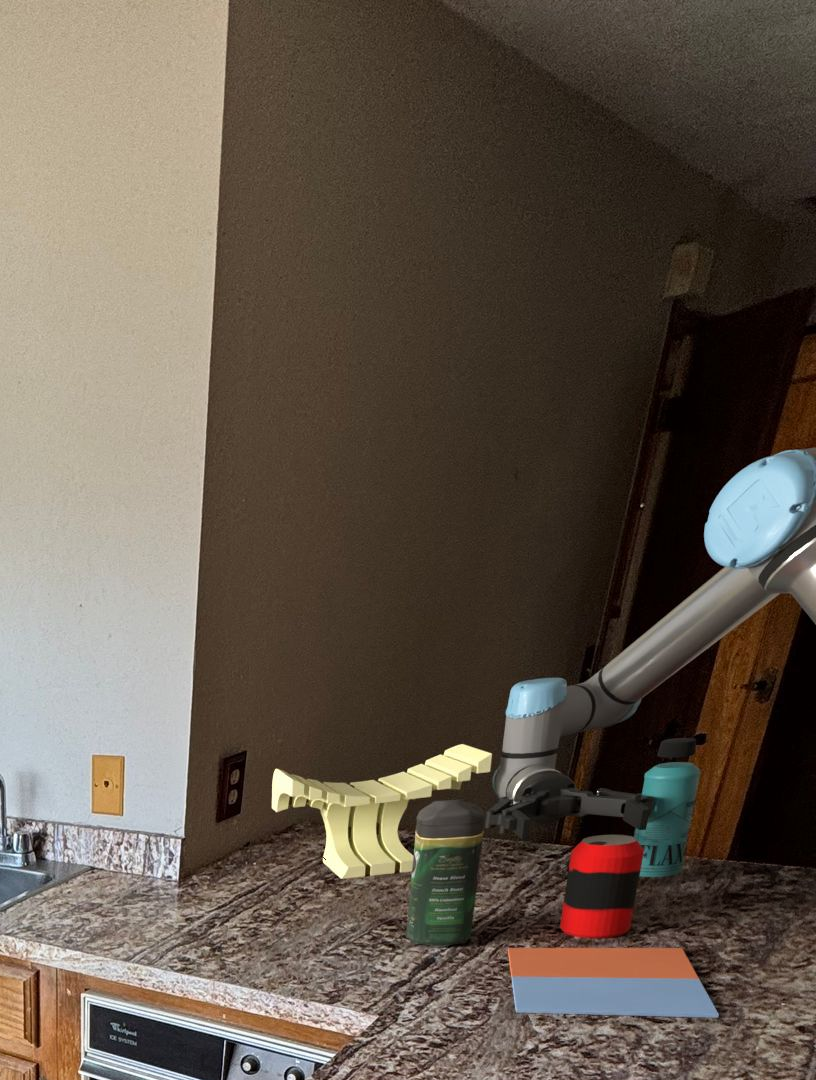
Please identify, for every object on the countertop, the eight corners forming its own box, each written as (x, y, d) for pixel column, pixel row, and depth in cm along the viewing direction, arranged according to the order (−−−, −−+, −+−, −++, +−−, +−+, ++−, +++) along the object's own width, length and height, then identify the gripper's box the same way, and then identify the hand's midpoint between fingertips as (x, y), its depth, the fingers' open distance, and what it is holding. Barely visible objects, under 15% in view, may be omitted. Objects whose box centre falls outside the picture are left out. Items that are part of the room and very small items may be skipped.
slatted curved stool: (445, 843, 180) (455, 741, 172) (479, 864, 166) (492, 753, 158) (270, 863, 186) (272, 765, 179) (289, 884, 172) (292, 779, 165)
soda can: (546, 932, 134) (559, 843, 129) (583, 918, 136) (597, 830, 131) (604, 942, 128) (620, 849, 123) (643, 928, 130) (660, 836, 125)
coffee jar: (474, 948, 133) (490, 807, 125) (407, 949, 136) (419, 812, 128) (467, 926, 141) (482, 792, 133) (404, 928, 144) (415, 798, 136)
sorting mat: (681, 950, 122) (682, 947, 121) (718, 1018, 105) (719, 1014, 105) (507, 950, 130) (508, 947, 130) (515, 1012, 113) (516, 1009, 113)
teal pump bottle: (623, 887, 145) (649, 745, 136) (624, 875, 150) (648, 737, 141) (681, 887, 141) (710, 741, 133) (680, 875, 146) (708, 733, 137)
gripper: (634, 811, 150) (690, 844, 133) (447, 827, 159) (476, 859, 141) (643, 760, 147) (702, 786, 129) (451, 779, 156) (482, 806, 138)
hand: (584, 824), depth 135 cm, fingers open, 13 cm apart
